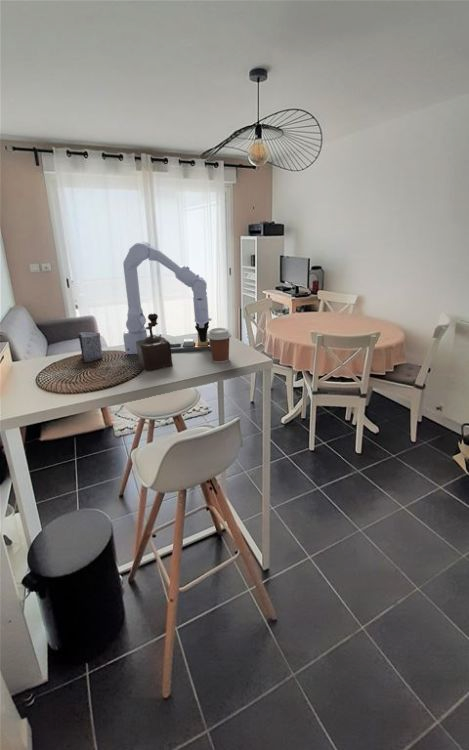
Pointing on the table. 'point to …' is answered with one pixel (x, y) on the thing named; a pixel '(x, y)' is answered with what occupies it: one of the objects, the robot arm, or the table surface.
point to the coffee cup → (219, 344)
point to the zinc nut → (189, 342)
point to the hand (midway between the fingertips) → (203, 340)
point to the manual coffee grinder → (154, 349)
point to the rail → (182, 349)
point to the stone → (90, 346)
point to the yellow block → (202, 342)
